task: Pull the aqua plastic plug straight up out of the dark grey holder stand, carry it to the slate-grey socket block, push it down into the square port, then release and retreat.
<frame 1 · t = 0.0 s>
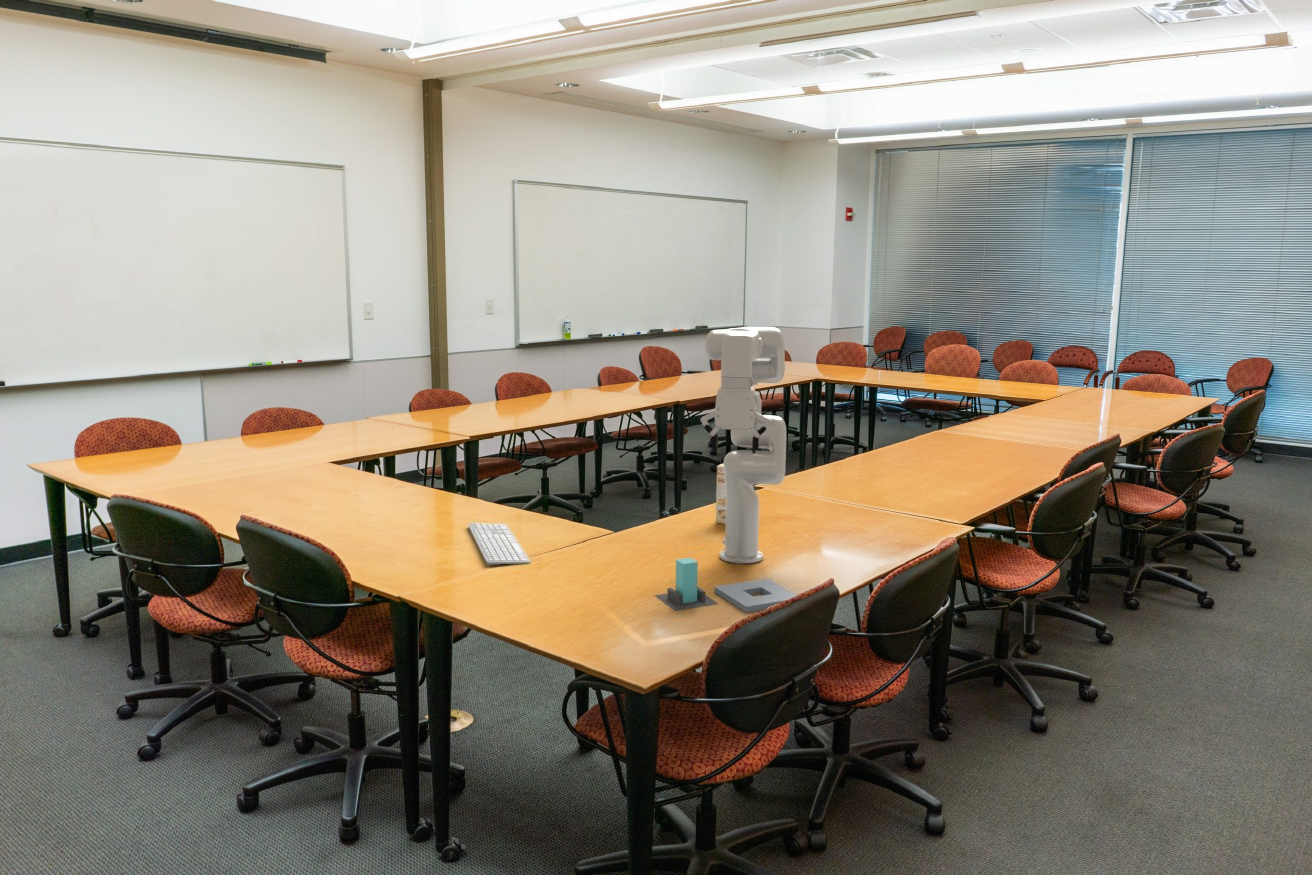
hand: (734, 451, 230), 37 cm above the table, tool pointing down, fingers open, 9 cm apart
plug: (686, 599, 230), point 1 cm above the table, touching dark grey holder stand
dark grey holder stand: (686, 603, 230), on the table
port: (757, 601, 232), on the table
coffeecake box: (734, 519, 312), on the table
keyboard: (497, 546, 281), on the table
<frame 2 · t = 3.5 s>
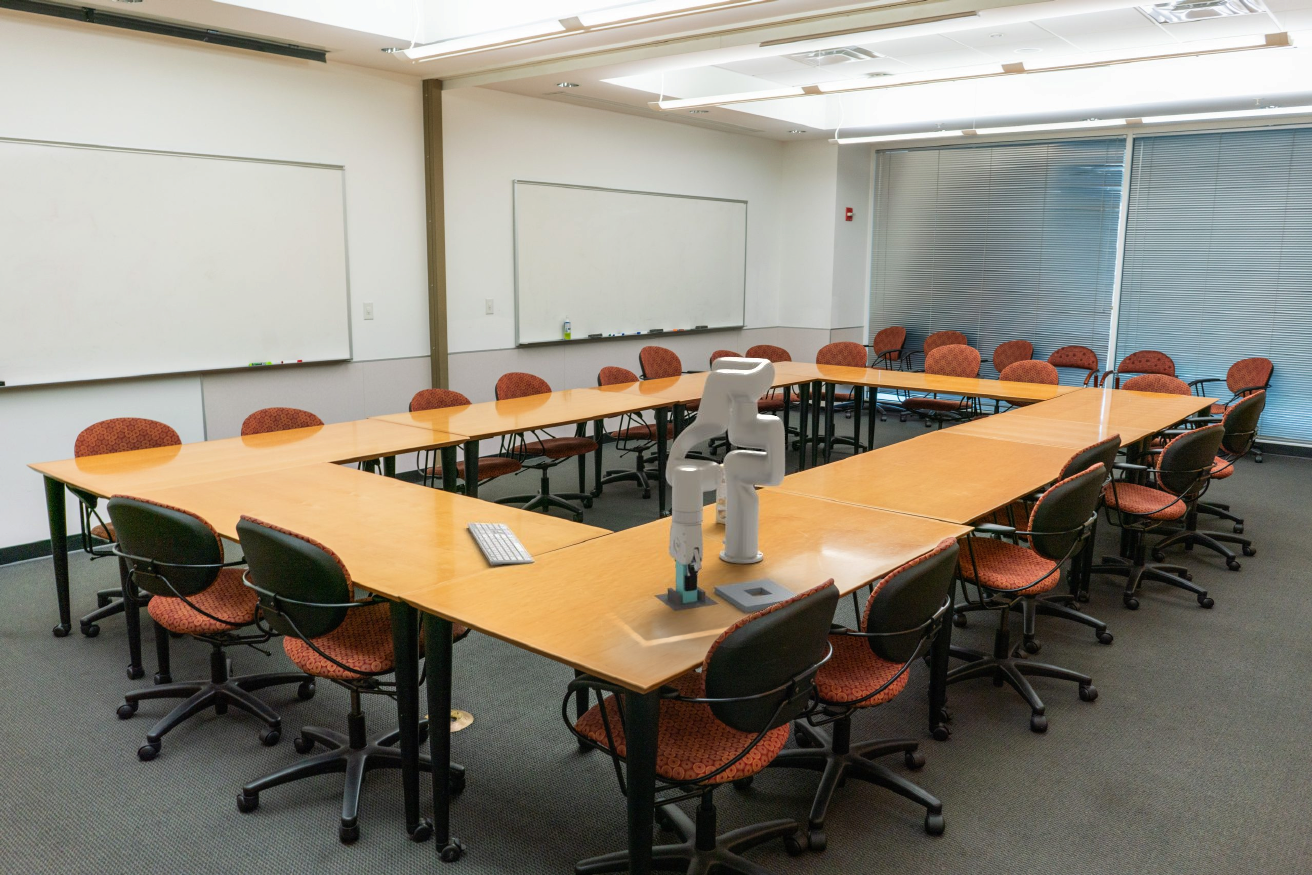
hand: (686, 586, 229), 4 cm above the table, tool pointing down, fingers closed on plug, 3 cm apart
plug: (686, 599, 230), point 1 cm above the table, touching gripper, dark grey holder stand
when the fingers open (4 cm above the table, at t = 10.0 s): plug stays where it is, resting in port.
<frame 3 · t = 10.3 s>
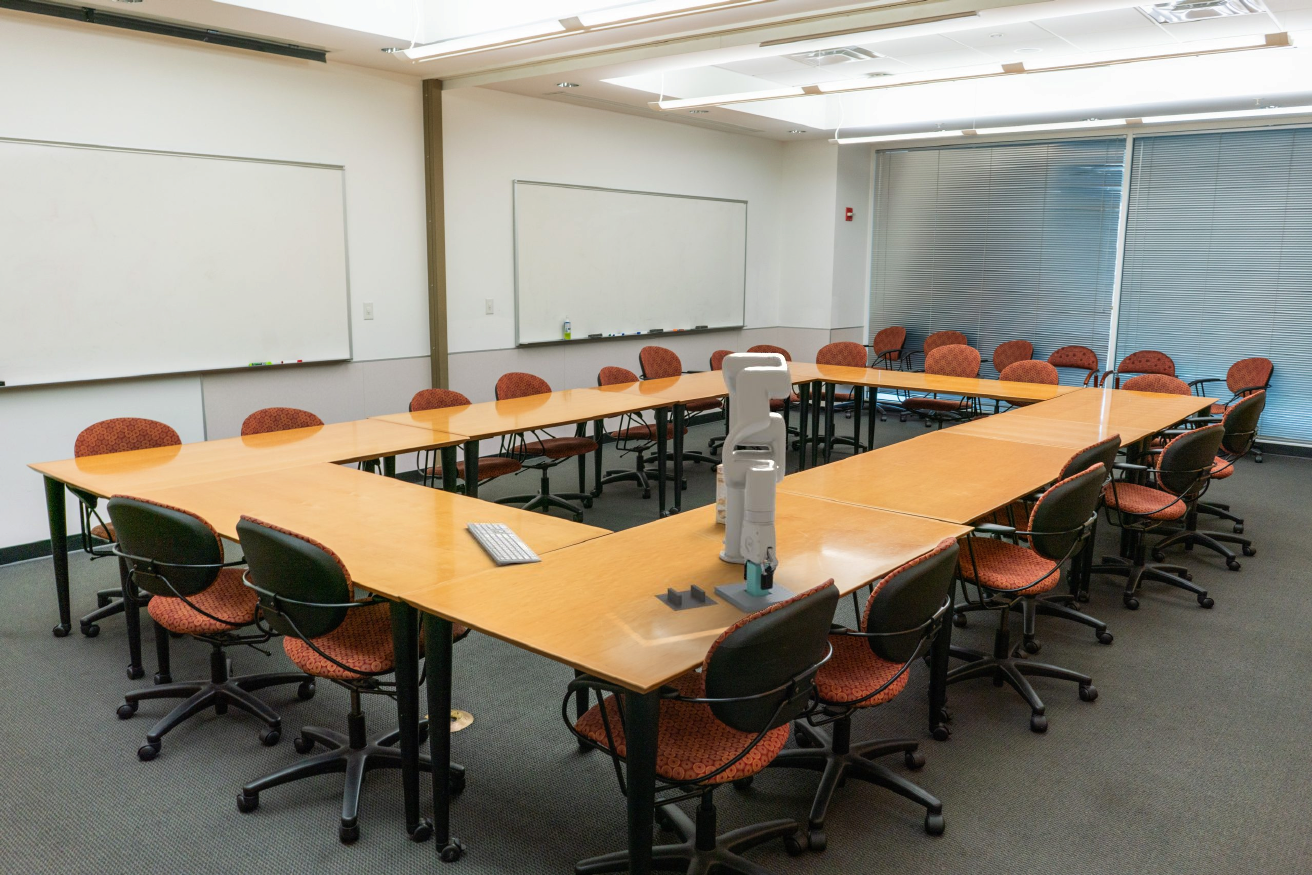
hand: (757, 583, 231), 5 cm above the table, tool pointing down, fingers open, 7 cm apart
plug: (757, 601, 232), resting in port
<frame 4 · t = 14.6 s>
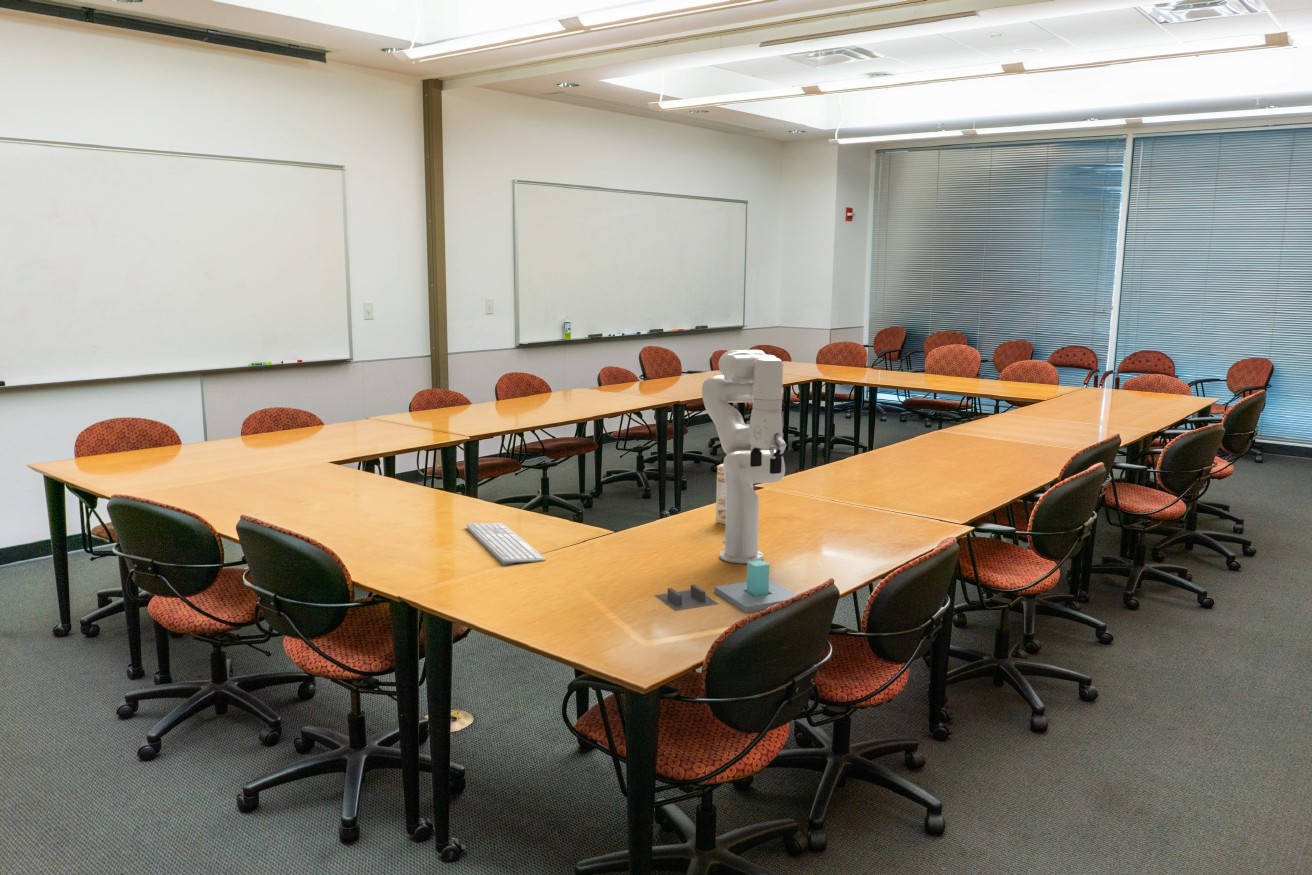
hand: (765, 469, 243), 30 cm above the table, tool pointing down, fingers open, 9 cm apart
at the end: plug 0.1 cm off-centre on the port, point 0.0 cm above the port's base; plug tilted 0°; the gripper is holding nothing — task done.
